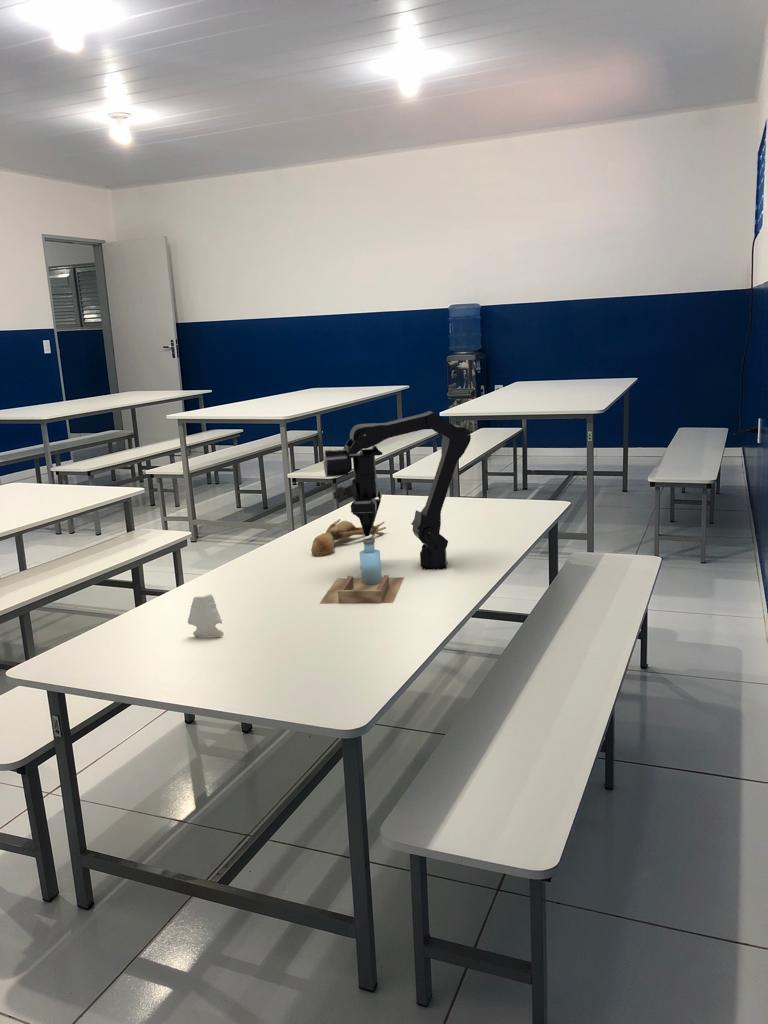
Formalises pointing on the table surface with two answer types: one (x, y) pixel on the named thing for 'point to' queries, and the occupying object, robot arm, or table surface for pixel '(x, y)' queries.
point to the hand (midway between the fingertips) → (368, 531)
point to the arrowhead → (205, 616)
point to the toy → (338, 536)
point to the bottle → (370, 563)
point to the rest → (362, 591)
